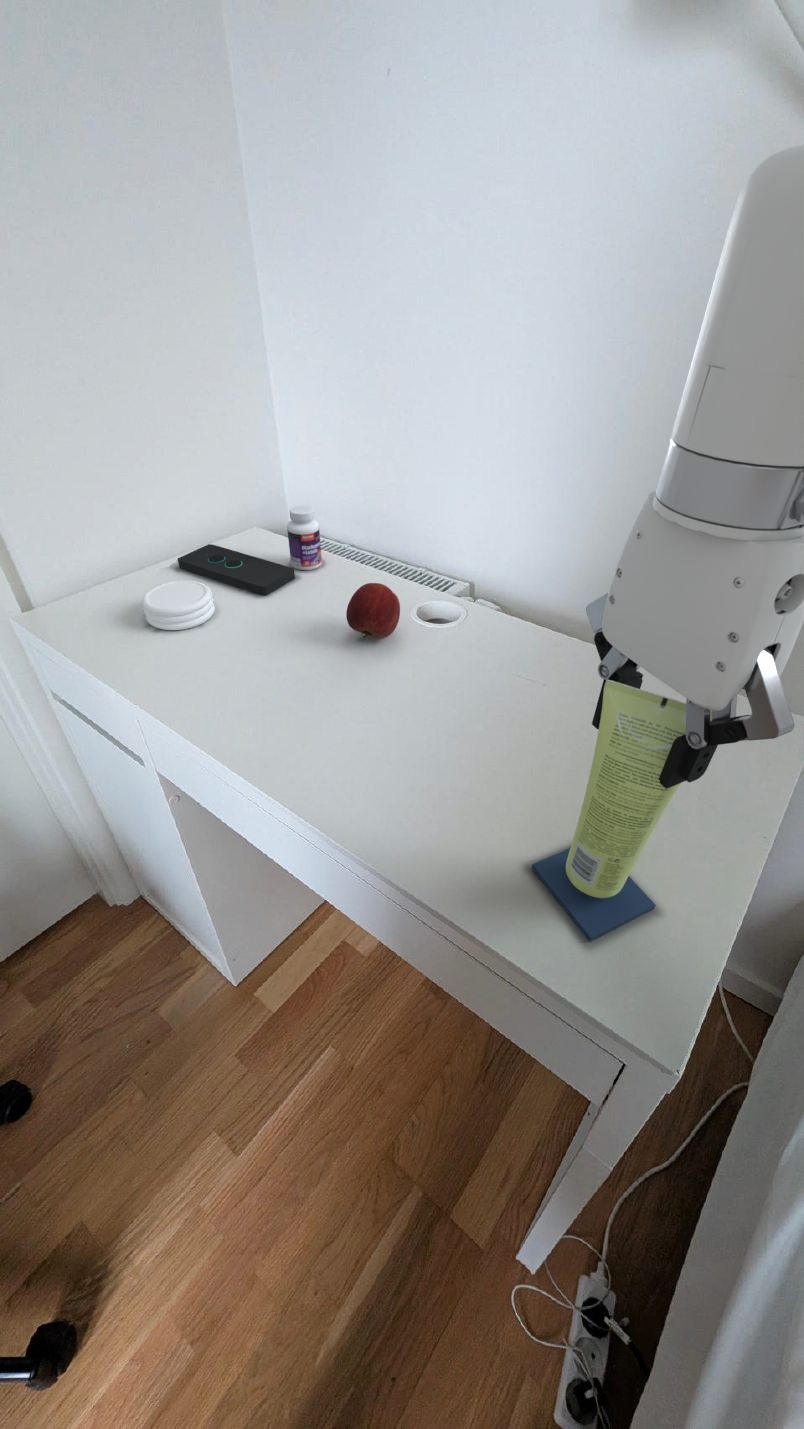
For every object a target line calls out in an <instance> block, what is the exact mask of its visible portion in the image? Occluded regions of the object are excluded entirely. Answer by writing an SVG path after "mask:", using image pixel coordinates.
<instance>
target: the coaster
mask: <svg viewBox="0 0 804 1429" xmlns="http://www.w3.org/2000/svg"><path fill="white" fill-rule="evenodd" d="M141 607H142V608H143V613H144V615H145V619H146V622H147V623H148V624H149V625H151V627H154V628H157V629H160V630H163V631H164V630H165V631H182V630H188V629H192V628H195V627H197V626H200V625H202V624H204V623H206V622H208V620H210V618H212V616H213V615H214V614H215V611H216V605H215V603H214V598H213V592H212V589H211V588H210V587H209V586H208V585H206V584H205V583H202V582H200V581H195V580H188V579H187V580H186V579H185V580H183V579H181V580H173V581H167V582H163V583H160V584H158V585H156V586H153V587H152V588H149V589H148V591H146V592H145V593H144V594H143V595H142V597H141Z"/></svg>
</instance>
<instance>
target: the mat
mask: <svg viewBox="0 0 804 1429" xmlns="http://www.w3.org/2000/svg"><path fill="white" fill-rule="evenodd" d="M570 848H571V847H569V848H567V849H564V850H562V851H560V852H557V853H555V854H553V855H551V856H548V857H545V858H544V859H541V860H539V861H537V862H534V863H532V864H531V870H532V871H533V872H534V873H535V875H536V876H537V877H538V879H539V880H540V881H541V882H542V883H543V885H544V886H545V887H546V889H547V890H548V891H549V892H550V893H551V895H552V896H553V897H554V899H555V901H557V902H558V904H559V905H560V906H561V908H562V909H563V910H564V911H565V913H566V914H567V915H568V917H569V918H570V919H571V920H572V921H573V923H574V924H575V926H577V928H578V929H579V930H580V932H582V934H583V935H584V936H585V938H586V939H587V941H588V942H590V943H591V942H593V941H595V940H597V939H599V938H600V937H603V936H605V935H607V934H609V933H610V932H612V931H614V930H616V929H618V928H620V927H622V926H624V925H626V924H628V923H630V922H632V921H633V920H636V919H638V918H639V917H641V916H643V915H645V914H647V913H649V912H651V911H653V910H655V908H656V903H655V902H654V901H653V900H652V899H651V898H650V897H649V896H648V895H647V894H646V893H645V892H644V890H642V888H640V886H639V885H638V884H637V882H635V881H634V880H633V879H632V878H631V876H630V875H629V876H628V878H627V880H626V882H625V884H624V886H623V887H622V889H621V891H620V892H619V893H618V894H616V895H614V896H612V897H608V898H597V897H593V896H590V895H587V894H585V893H583V892H582V891H580V890H579V889H577V888H576V887H575V886H574V885H573V884H572V883H571V881H570V879H569V878H568V876H567V873H566V862H567V858H568V855H569V851H570Z"/></svg>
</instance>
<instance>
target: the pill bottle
mask: <svg viewBox="0 0 804 1429" xmlns="http://www.w3.org/2000/svg"><path fill="white" fill-rule="evenodd" d="M289 519H290V521H289V522H288V523H287V526H286V529H287V539H288V547H289V556H290V563H291V564H290V565H291V566H292V568H293V569H296V570H299V571H311V570H312V571H313V570H315V569H318V568H319V567H320V566H322V563H323V560H322V559H323V558H322V548H321V532H320V524H319V523H318V521H317V520H315V511H314V508H313V507H312V506H309V505H297V506H296V505H295V506H293V507H290V508H289Z"/></svg>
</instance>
